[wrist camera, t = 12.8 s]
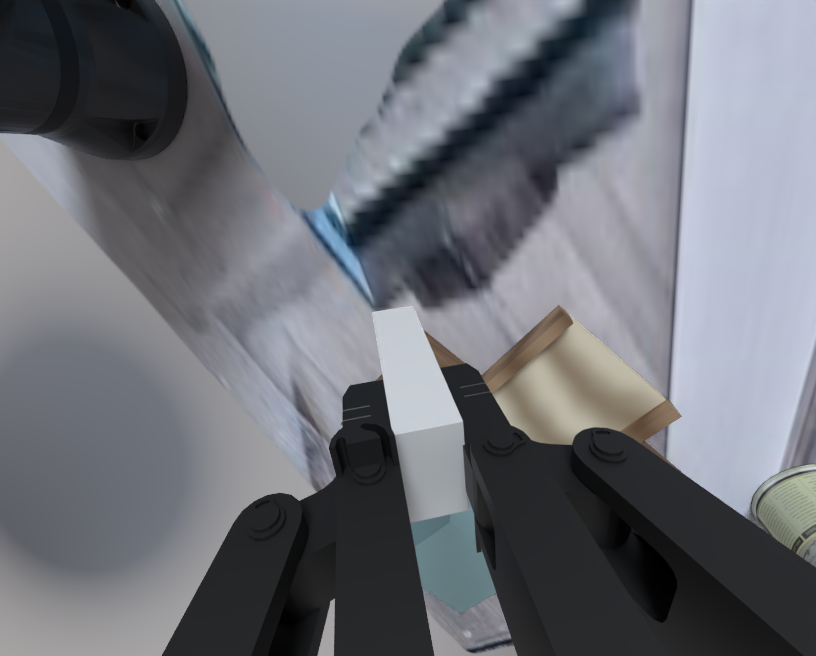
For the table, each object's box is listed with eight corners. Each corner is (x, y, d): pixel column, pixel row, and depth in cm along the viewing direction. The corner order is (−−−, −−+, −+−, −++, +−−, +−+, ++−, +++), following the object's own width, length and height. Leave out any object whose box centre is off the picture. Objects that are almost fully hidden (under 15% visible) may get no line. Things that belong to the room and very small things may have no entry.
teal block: (456, 439, 44) (449, 522, 34) (515, 483, 45) (525, 577, 35) (408, 479, 47) (389, 565, 37) (464, 520, 48) (459, 613, 39)
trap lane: (496, 250, 35) (498, 261, 32) (723, 447, 39) (747, 476, 36) (330, 430, 47) (317, 452, 44) (517, 566, 52) (520, 597, 48)
